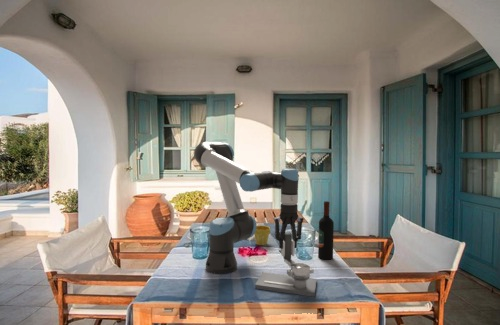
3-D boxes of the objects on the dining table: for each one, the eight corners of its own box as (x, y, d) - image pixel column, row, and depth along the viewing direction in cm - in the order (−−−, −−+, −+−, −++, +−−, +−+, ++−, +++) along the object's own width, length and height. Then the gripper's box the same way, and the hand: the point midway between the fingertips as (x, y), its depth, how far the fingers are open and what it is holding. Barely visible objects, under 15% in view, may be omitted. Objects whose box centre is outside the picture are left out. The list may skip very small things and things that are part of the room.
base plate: (255, 288, 123) (255, 275, 122) (262, 275, 135) (262, 263, 135) (314, 296, 116) (314, 282, 116) (316, 282, 128) (316, 269, 128)
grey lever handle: (274, 264, 133) (275, 233, 132) (296, 261, 136) (297, 232, 136) (292, 282, 115) (292, 247, 115) (316, 278, 119) (317, 244, 118)
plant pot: (273, 242, 181) (273, 226, 181) (264, 247, 173) (264, 230, 172) (258, 239, 187) (258, 224, 186) (249, 244, 178) (249, 228, 178)
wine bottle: (330, 261, 152) (331, 203, 150) (316, 258, 156) (317, 202, 154) (334, 257, 158) (335, 201, 157) (320, 254, 162) (322, 200, 161)
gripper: (273, 205, 126) (271, 259, 128) (310, 204, 130) (308, 257, 131) (268, 202, 134) (267, 253, 135) (303, 201, 137) (302, 251, 138)
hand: (287, 255), depth 133 cm, fingers open, 4 cm apart
